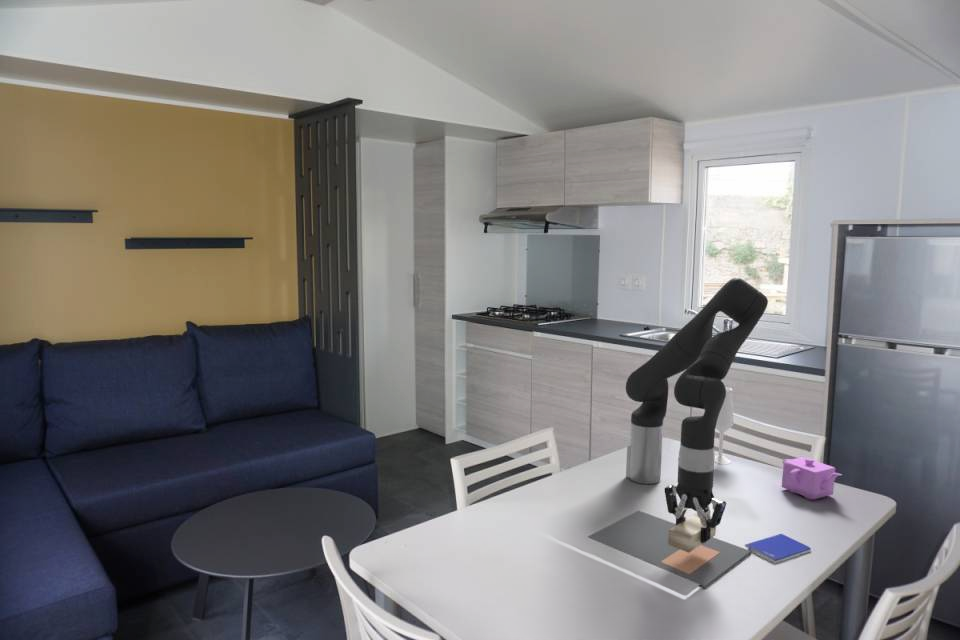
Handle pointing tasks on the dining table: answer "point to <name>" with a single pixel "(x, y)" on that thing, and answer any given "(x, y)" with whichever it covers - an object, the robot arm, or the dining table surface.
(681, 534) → the cream block
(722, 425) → the champagne flute
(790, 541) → the hard drive
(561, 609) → the dining table surface
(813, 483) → the teapot
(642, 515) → the rubber mat
